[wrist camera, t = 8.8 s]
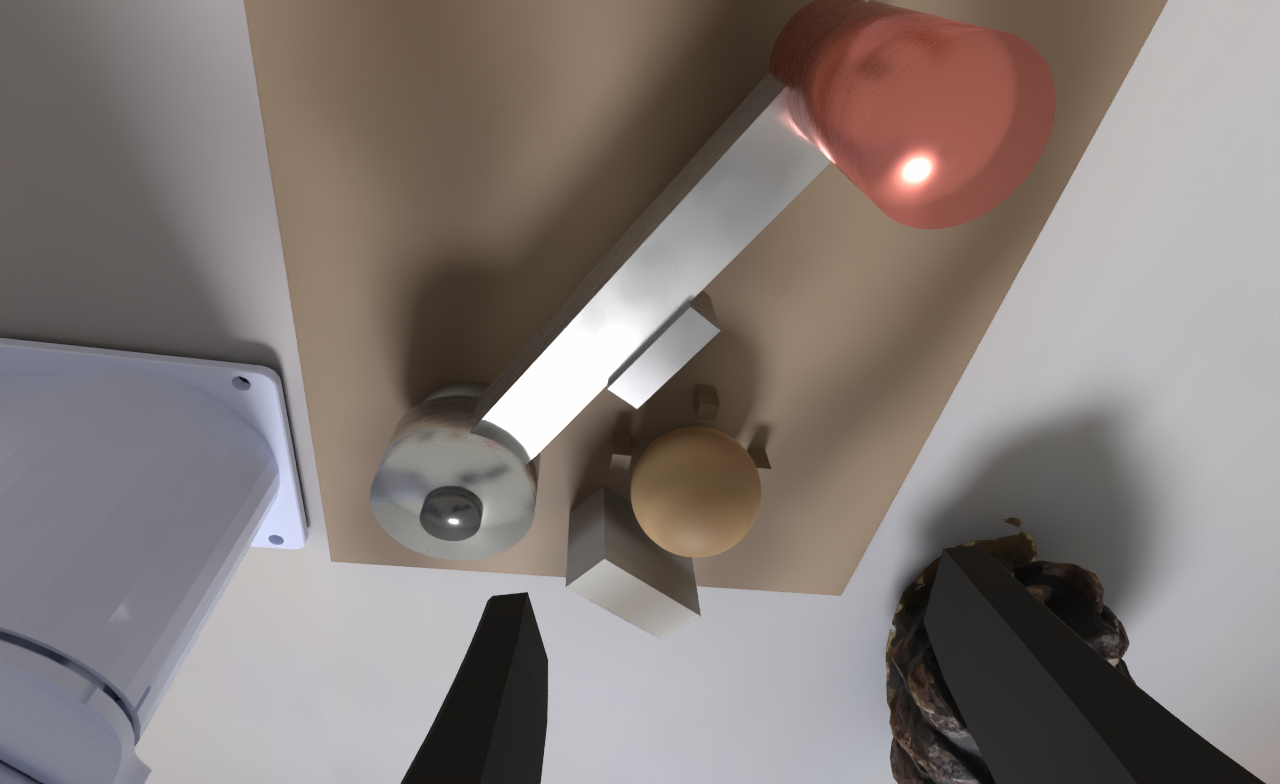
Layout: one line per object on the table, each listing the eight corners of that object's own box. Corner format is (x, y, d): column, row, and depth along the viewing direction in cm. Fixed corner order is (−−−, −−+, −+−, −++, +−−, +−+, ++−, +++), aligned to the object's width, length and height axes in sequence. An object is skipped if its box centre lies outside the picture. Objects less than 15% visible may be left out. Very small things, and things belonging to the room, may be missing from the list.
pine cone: (1067, 482, 25) (1295, 747, 17) (1066, 702, 35) (1210, 936, 27) (806, 557, 27) (898, 830, 19) (876, 746, 37) (955, 978, 28)
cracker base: (340, 540, 24) (298, 638, 21) (207, -412, 11) (28, -570, 8) (833, 576, 27) (867, 667, 24) (1213, -148, 14) (1417, -177, 10)
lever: (487, 525, 21) (454, 702, 16) (364, 462, 19) (284, 640, 14) (938, 89, 14) (1119, 171, 9) (809, -76, 12) (950, -82, 7)
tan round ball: (619, 486, 22) (623, 581, 19) (639, 393, 20) (646, 482, 17) (731, 496, 23) (753, 589, 20) (761, 407, 21) (792, 495, 17)
